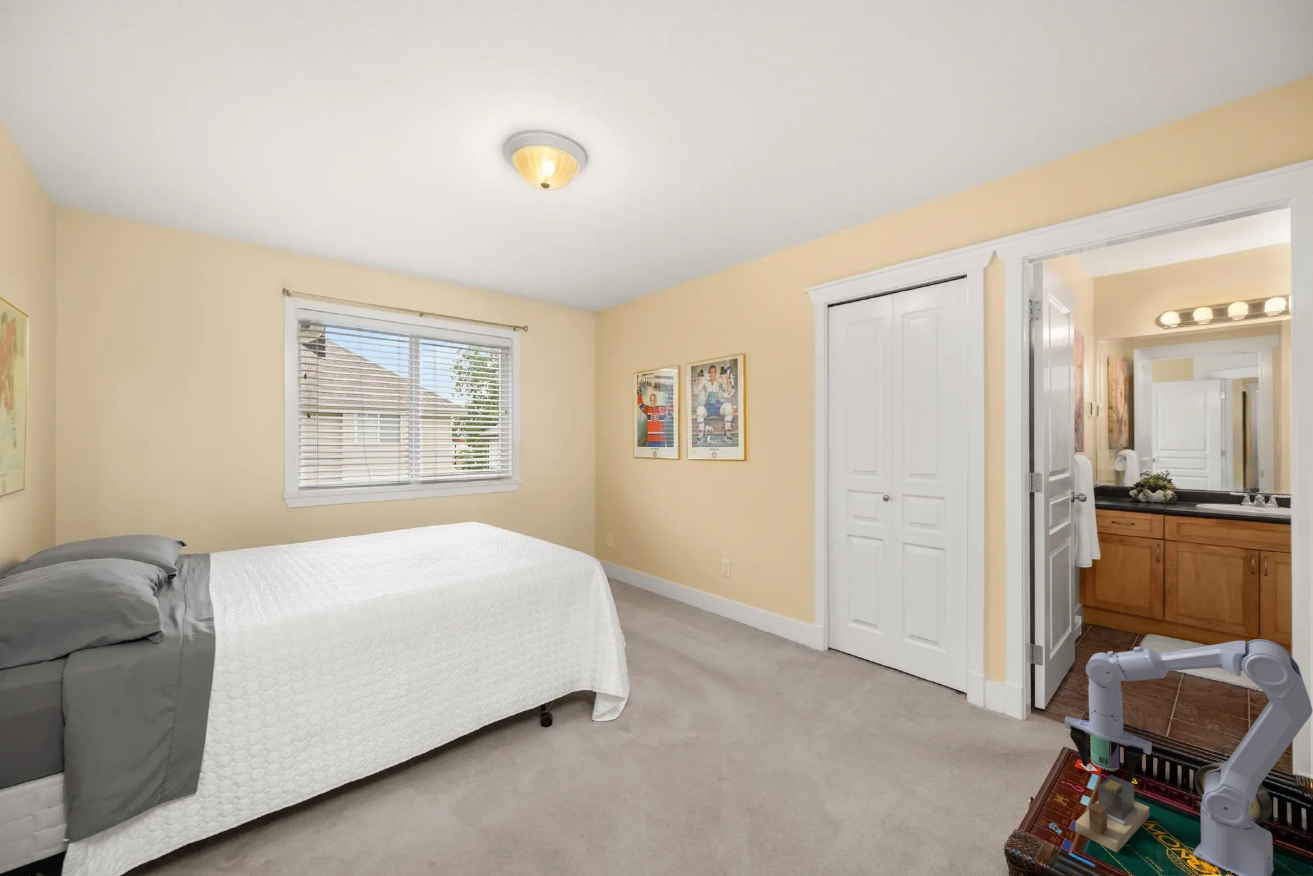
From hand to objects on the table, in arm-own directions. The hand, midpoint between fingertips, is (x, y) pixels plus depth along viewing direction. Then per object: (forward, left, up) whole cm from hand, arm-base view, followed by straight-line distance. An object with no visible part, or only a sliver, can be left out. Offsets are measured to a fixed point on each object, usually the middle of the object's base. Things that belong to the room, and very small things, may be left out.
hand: (1107, 772), depth 119 cm
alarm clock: (-16, -18, -10) cm, 26 cm away
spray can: (+7, -20, -10) cm, 24 cm away
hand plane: (-2, +3, -9) cm, 10 cm away
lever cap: (-2, +1, -7) cm, 7 cm away
